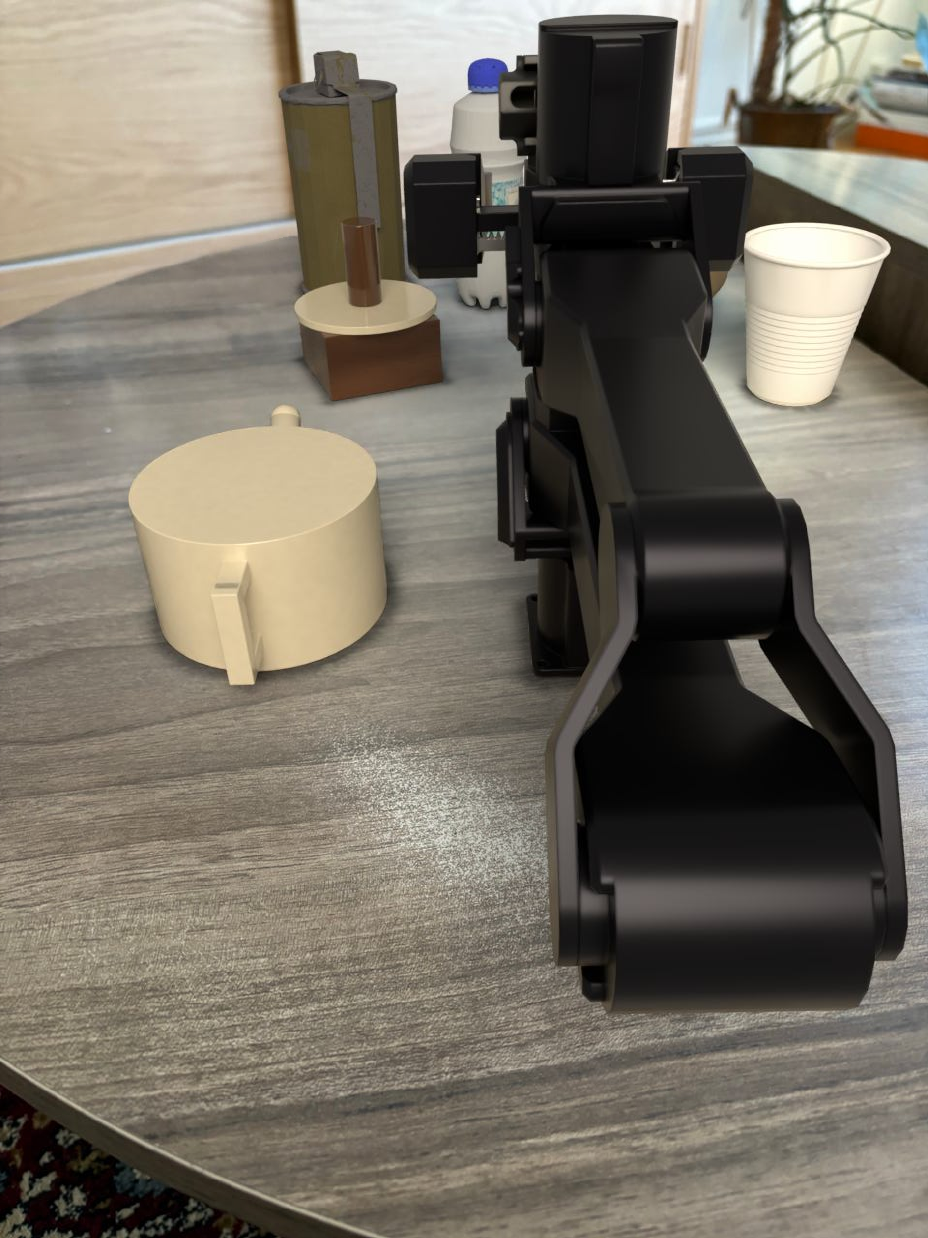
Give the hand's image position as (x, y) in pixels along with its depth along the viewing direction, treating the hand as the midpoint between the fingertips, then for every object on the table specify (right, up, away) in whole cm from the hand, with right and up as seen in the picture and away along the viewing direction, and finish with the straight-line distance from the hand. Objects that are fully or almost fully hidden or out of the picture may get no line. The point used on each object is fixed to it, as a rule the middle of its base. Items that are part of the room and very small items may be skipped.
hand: (562, 178), depth 62 cm
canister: (-17, +5, +36) cm, 40 cm away
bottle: (-4, +2, +31) cm, 32 cm away
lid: (-14, -3, +16) cm, 21 cm away
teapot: (-16, -26, -7) cm, 32 cm away
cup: (+18, -10, +13) cm, 25 cm away
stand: (-14, -7, +19) cm, 24 cm away
